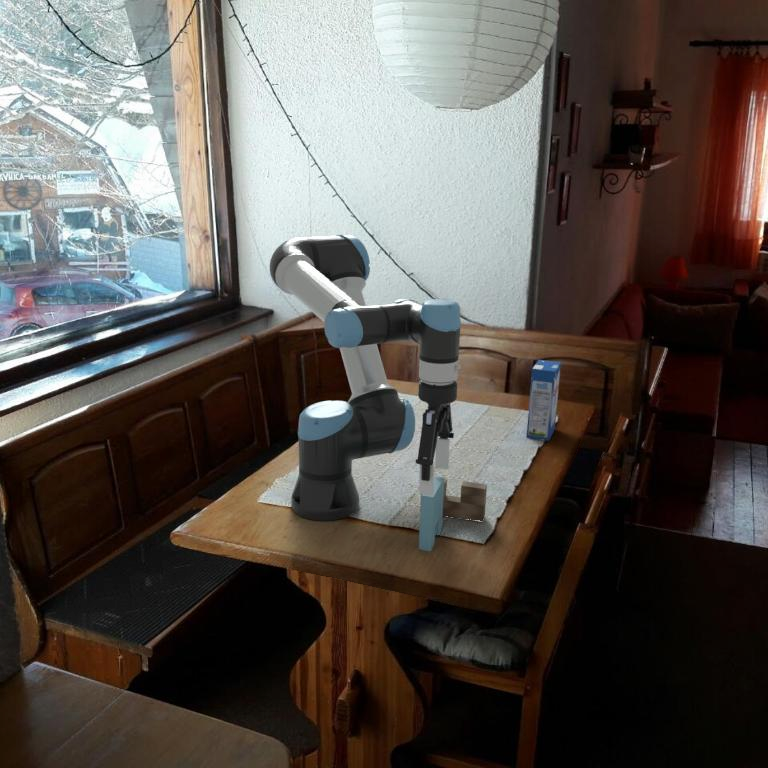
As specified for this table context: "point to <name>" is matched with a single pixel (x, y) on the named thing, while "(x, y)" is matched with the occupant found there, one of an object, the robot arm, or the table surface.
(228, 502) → the table surface
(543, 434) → the milk carton
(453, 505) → the walnut slotted plate
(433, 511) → the teal slotted plate
